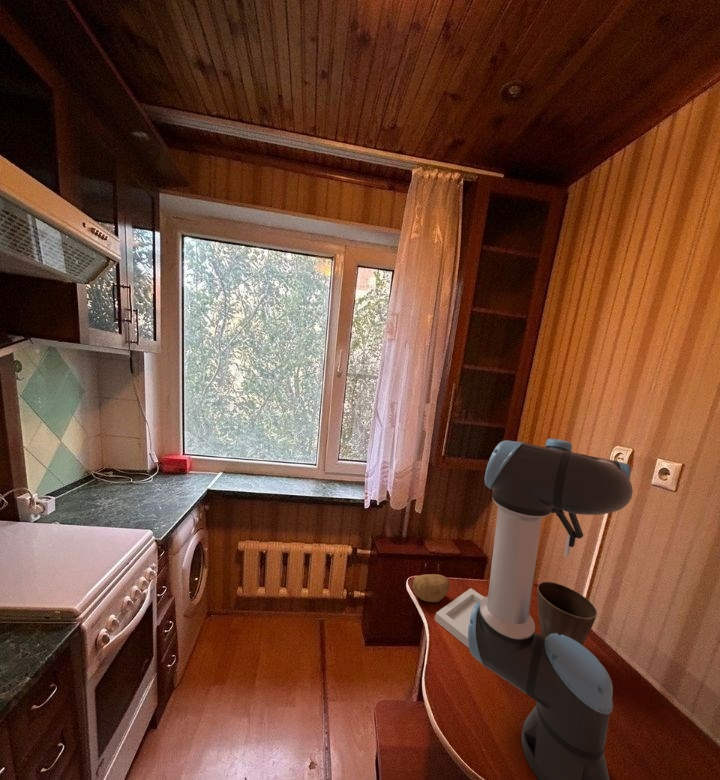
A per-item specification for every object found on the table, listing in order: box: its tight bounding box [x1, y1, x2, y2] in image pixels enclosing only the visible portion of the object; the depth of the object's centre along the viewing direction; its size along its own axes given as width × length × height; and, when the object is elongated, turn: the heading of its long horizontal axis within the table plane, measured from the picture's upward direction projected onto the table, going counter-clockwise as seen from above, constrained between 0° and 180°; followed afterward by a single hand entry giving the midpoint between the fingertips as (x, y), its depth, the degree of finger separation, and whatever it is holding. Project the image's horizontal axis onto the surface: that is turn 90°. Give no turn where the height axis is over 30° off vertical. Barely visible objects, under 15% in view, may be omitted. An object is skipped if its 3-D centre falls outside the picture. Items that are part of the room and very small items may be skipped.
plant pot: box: [536, 581, 598, 646], centre depth 92 cm, size 15×15×16 cm
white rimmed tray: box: [434, 587, 486, 649], centre depth 98 cm, size 22×18×3 cm
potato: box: [412, 573, 450, 603], centre depth 107 cm, size 10×14×8 cm
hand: (543, 544), depth 104 cm, fingers open, 13 cm apart
